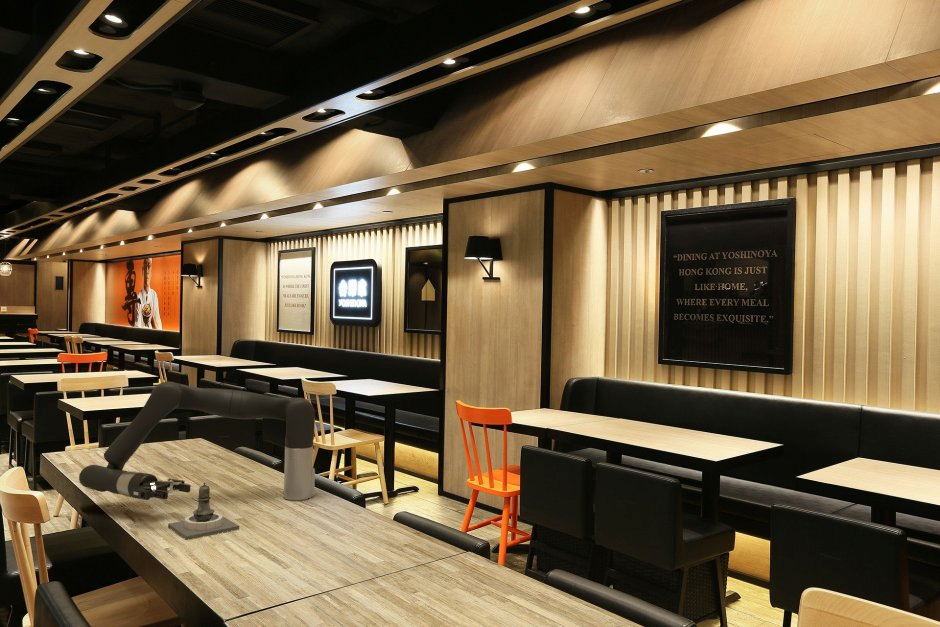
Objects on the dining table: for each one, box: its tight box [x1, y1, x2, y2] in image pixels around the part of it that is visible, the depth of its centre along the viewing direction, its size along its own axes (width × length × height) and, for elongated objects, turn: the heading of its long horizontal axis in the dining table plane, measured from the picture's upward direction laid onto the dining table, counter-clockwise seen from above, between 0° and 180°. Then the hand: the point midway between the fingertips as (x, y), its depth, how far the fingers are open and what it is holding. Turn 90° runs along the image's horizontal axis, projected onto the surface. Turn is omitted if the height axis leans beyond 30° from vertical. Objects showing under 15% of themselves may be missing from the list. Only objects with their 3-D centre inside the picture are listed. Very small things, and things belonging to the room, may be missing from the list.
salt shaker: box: [192, 482, 216, 522], centre depth 196 cm, size 6×6×12 cm
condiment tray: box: [167, 512, 240, 541], centre depth 196 cm, size 15×14×3 cm
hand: (178, 492), depth 199 cm, fingers open, 8 cm apart
